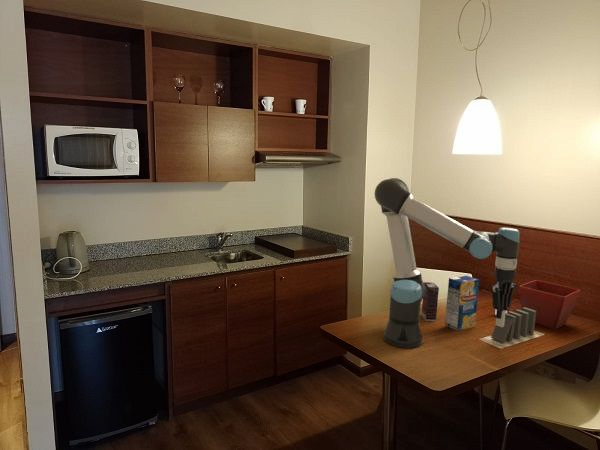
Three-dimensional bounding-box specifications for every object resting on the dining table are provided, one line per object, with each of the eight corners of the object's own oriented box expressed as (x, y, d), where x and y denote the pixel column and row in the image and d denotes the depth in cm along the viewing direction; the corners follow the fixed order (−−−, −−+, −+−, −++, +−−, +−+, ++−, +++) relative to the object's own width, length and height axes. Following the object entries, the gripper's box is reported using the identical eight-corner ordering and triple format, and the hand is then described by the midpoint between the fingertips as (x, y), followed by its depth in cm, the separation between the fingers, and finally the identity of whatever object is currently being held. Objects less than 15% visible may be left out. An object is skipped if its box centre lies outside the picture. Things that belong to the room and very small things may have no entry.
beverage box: (444, 327, 191) (448, 278, 188) (462, 323, 196) (466, 275, 193) (456, 332, 185) (461, 282, 182) (474, 328, 190) (479, 279, 187)
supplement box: (436, 321, 197) (439, 287, 195) (425, 321, 197) (428, 287, 195) (431, 315, 206) (433, 282, 203) (420, 314, 206) (423, 281, 203)
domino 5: (531, 334, 183) (534, 311, 181) (520, 330, 187) (522, 307, 186) (533, 333, 184) (536, 311, 182) (522, 329, 188) (524, 307, 186)
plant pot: (576, 325, 199) (581, 289, 196) (559, 335, 187) (564, 296, 184) (532, 313, 213) (536, 279, 211) (514, 321, 201) (518, 285, 198)
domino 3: (517, 339, 178) (519, 315, 176) (505, 334, 182) (508, 311, 180) (519, 338, 179) (522, 315, 177) (508, 334, 183) (510, 311, 181)
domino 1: (502, 342, 173) (511, 318, 174) (491, 337, 177) (500, 314, 178) (504, 343, 173) (513, 319, 174) (493, 338, 178) (502, 315, 179)
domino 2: (509, 341, 175) (513, 316, 174) (498, 336, 179) (502, 313, 179) (511, 340, 176) (516, 316, 175) (500, 336, 180) (504, 312, 179)
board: (500, 351, 169) (500, 348, 168) (478, 341, 177) (478, 338, 177) (544, 336, 184) (545, 334, 184) (522, 328, 192) (522, 326, 192)
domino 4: (524, 337, 180) (526, 313, 179) (513, 332, 185) (515, 309, 183) (526, 336, 181) (529, 313, 180) (515, 332, 185) (517, 309, 184)
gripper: (504, 271, 164) (498, 331, 168) (524, 268, 171) (518, 326, 174) (486, 267, 170) (481, 325, 174) (507, 264, 177) (501, 319, 181)
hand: (499, 325), depth 174 cm, fingers closed
